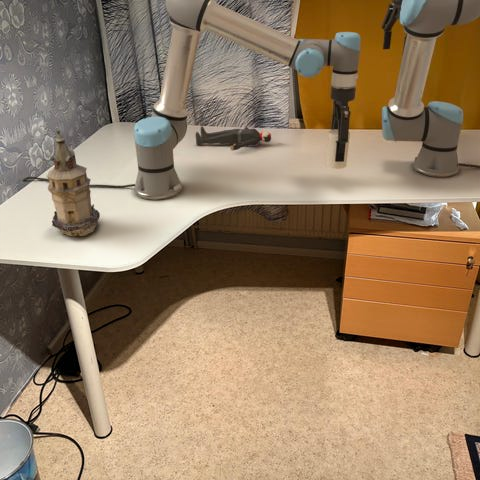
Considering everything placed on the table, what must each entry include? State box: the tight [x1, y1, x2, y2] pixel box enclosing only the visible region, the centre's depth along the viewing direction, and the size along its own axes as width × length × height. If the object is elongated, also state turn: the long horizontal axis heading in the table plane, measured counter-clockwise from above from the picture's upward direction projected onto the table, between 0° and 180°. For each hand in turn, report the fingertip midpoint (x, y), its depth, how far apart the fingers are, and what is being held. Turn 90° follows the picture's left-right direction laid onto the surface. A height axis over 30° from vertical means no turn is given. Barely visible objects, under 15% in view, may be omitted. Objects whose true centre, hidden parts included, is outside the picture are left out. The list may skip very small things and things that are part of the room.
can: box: [325, 129, 351, 170], centre depth 175 cm, size 7×7×11 cm
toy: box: [195, 125, 272, 152], centre depth 216 cm, size 26×6×30 cm
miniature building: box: [46, 129, 101, 237], centre depth 148 cm, size 13×14×30 cm
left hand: (337, 157), depth 176 cm, fingers closed on can, 7 cm apart
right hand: (395, 52), depth 204 cm, fingers open, 13 cm apart
